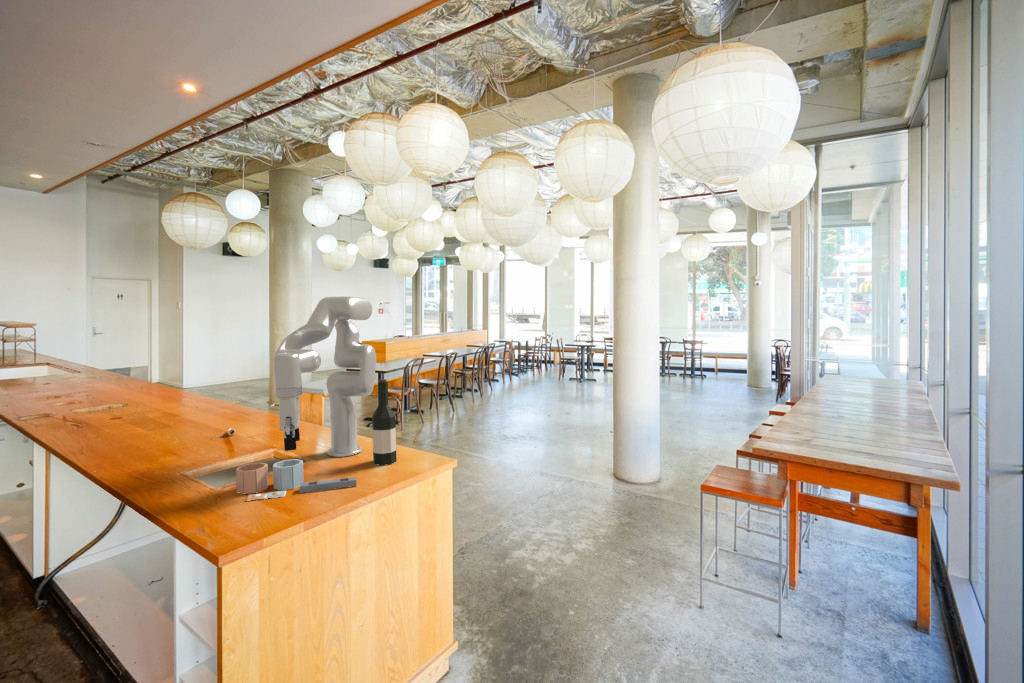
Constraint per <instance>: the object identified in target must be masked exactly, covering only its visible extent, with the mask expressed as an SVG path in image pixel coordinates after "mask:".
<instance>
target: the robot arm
mask: <svg viewBox="0 0 1024 683" xmlns="http://www.w3.org/2000/svg"><path fill="white" fill-rule="evenodd" d="M370 301H371V300H369V299H368V298H365V297H356V296H327V297H323V298H321V299H320V300H319V301H318V303H317V304H316V306H315V308H314V310H313V312H312V313H311V315H310V316H309V319H308V320H307V323H306V324H304V325H302V326H300V327H299V328H297V329H295V330H294V331H292V332H291V333H290V334H289V335H288V334H287V336H286V337H285V338H284V339H283V340H282V341H281V343H280V344H279V346H278V348H277V349H276V352H275V354H274V356H273V372H274V373H273V374H274V385H275V388H274V389H275V399H276V400H279V401H278V402H279V403H278V404H279V405H278V414H279V416H278V418H279V419H278V420H279V431H281V432H282V431H283V430H284V431H283V432H284V433H283V434H284V436H283V437H284V438H283V444H284V451H285V452H287V451H289V452H290V451H296V450H297V442H299V441H300V440H301V438H300V427H299V425H300V423H301V422H300V421H301V418H300V417H301V414H300V411H301V410H300V398H301V397H303V381H302V374H303V373H304V374H305V373H313V372H315V371H316V370H318V369H319V368H320V366H321V364H322V357H321V355H320V353H319V352H317V351H316V350H313V349H303V348H305V347H307V346H310V345H314V344H317V343H319V342H322V341H324V340H327V339H328V338H329V337H330V336H331V334H332V332H333V329H334V327H335V330H336V332H335V333H336V339H335V346H334V355H333V356H334V357H333V363H334V364H335V365H334V366H336V367H337V368H339V369H359V371H353V370H352V371H348V370H346V371H343V370H342V371H334V372H332V373H331V374H329V375H328V376H327V379H326V384H325V385H326V390H327V394H328V399H329V409H330V410H329V412H330V436H331V437H330V440H331V441H330V442H331V445H330V448H329V449H327V450H326V453H327V455H328V456H330V457H335V458H340V457H342V458H343V457H350V456H355V455H357V453H358V454H360V453H361V452H362V446H360V445H358V427H357V426H358V420H357V405H356V403H355V401H354V399H353V398H352V397H369V396H370V395H371V394H372V393H373V390H374V388H375V387H374V386H375V379H376V378H375V377H376V368H377V367H376V366H377V354H376V353H377V352H376V350H375V347H374V346H372V345H370V344H367V343H366V344H365V343H360V331H359V329H358V328H357V326H356V325H355V323H354V322H353V321H366V320H369V319H370V318H371V317H372V314H373V305H372V302H370ZM359 452H360V453H359ZM354 454H355V455H354Z"/></svg>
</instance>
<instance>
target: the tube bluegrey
mask: <svg viewBox="0 0 1024 683" xmlns="http://www.w3.org/2000/svg"><path fill="white" fill-rule="evenodd" d="M304 478H305V477H304V460H302V459H299V458H298V459H297V458H296V459H295V458H294V459H293V458H292V459H283V460H280V461H278V462H274V464H273V465H272V480H273V489H274V490H276V489H277V491H284V490H285V491H287V490H294V489H297V488H300V484H301V483H305V481H304Z"/></svg>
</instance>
